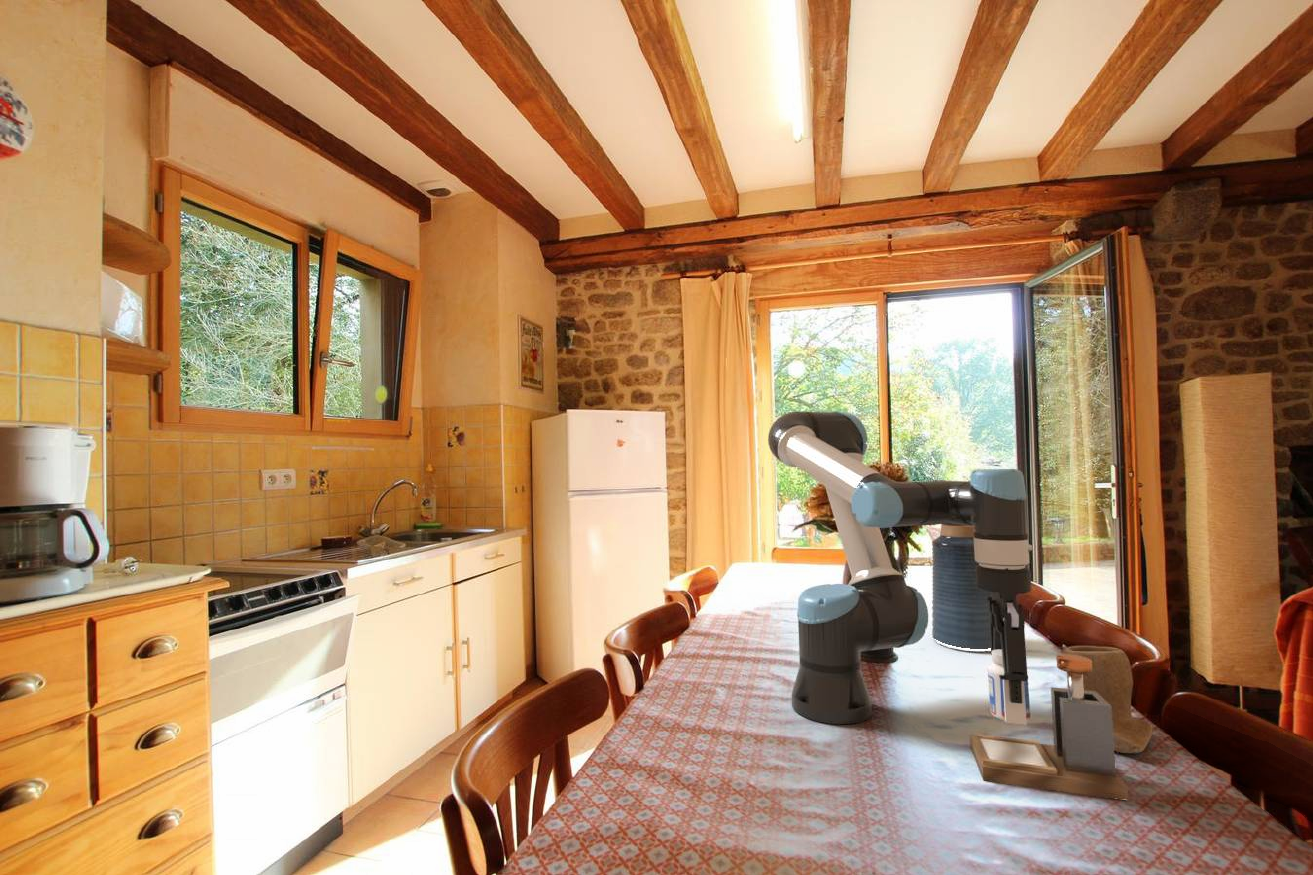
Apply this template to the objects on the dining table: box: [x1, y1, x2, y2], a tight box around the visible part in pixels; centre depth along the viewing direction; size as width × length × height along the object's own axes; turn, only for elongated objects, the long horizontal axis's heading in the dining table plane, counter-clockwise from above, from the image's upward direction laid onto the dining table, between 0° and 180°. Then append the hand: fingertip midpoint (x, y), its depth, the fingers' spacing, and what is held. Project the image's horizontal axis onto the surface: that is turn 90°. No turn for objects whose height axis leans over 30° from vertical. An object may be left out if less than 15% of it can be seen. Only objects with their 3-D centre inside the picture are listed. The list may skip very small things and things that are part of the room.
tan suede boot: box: [1063, 645, 1154, 754], centre depth 101 cm, size 15×12×15 cm
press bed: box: [969, 732, 1129, 801], centre depth 89 cm, size 18×11×3 cm, turn 70°
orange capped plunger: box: [1055, 653, 1092, 700], centre depth 88 cm, size 4×4×12 cm
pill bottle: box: [987, 649, 1031, 722], centre depth 91 cm, size 6×5×10 cm
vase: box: [931, 524, 992, 649], centre depth 155 cm, size 16×16×32 cm
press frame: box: [1050, 686, 1117, 777], centre depth 88 cm, size 6×6×10 cm
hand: (1010, 714), depth 91 cm, fingers closed on pill bottle, 5 cm apart
